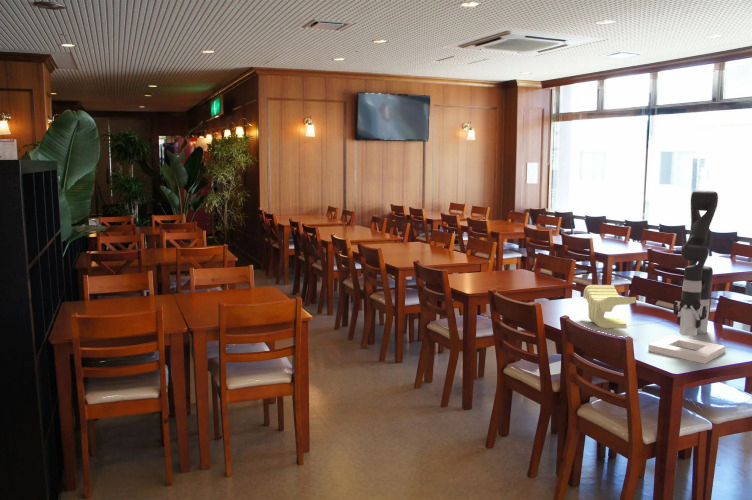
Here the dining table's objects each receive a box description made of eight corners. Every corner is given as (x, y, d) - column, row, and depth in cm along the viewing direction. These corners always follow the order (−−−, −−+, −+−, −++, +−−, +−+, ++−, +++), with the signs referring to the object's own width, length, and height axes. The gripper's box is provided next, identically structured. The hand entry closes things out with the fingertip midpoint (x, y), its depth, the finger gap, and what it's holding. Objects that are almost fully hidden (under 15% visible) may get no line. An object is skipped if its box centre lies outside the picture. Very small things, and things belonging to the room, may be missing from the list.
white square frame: (669, 341, 305) (670, 334, 304) (724, 352, 288) (725, 345, 287) (648, 351, 288) (648, 344, 288) (704, 363, 271) (705, 356, 271)
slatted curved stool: (582, 316, 349) (584, 284, 347) (611, 317, 349) (613, 285, 347) (601, 331, 320) (603, 296, 317) (633, 332, 320) (636, 297, 317)
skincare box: (691, 333, 289) (693, 306, 288) (697, 335, 285) (699, 309, 283) (678, 333, 289) (680, 306, 287) (684, 336, 284) (686, 309, 283)
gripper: (712, 291, 281) (708, 328, 284) (678, 286, 292) (675, 321, 294) (705, 293, 276) (702, 331, 279) (671, 288, 287) (668, 324, 289)
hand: (688, 326), depth 286 cm, fingers closed on skincare box, 7 cm apart
